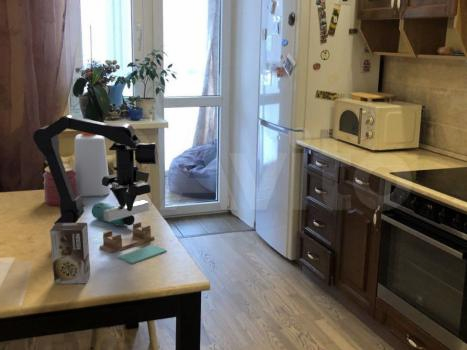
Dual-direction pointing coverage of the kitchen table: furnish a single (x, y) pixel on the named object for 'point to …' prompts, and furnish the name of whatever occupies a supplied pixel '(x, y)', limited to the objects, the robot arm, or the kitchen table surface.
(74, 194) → the robot arm
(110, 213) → the rail
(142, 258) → the mat
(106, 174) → the plastic bottle
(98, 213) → the beverage bottle
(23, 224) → the kitchen table surface
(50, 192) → the canister
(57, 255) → the coffee box
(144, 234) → the rack
